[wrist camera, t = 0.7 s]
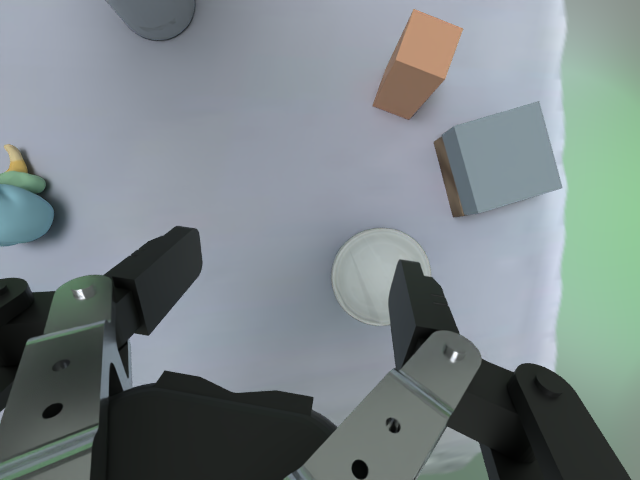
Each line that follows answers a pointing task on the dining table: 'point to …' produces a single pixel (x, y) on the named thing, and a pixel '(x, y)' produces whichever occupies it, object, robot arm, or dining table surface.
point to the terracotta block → (417, 64)
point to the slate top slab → (501, 159)
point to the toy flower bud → (22, 203)
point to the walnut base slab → (448, 178)
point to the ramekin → (372, 272)
